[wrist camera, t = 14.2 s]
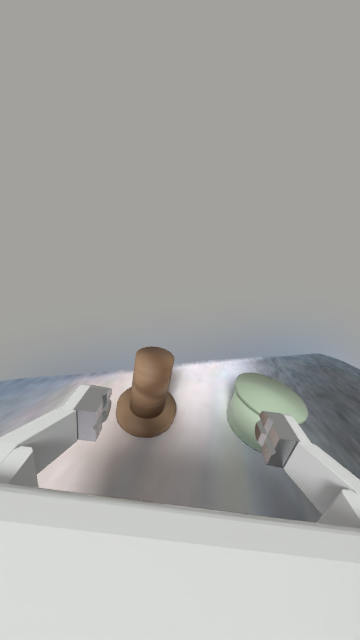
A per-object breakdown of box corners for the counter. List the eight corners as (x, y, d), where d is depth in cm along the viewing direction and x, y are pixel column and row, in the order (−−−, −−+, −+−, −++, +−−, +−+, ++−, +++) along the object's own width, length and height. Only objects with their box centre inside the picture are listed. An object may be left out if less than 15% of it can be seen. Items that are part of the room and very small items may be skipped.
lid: (161, 385, 32) (169, 339, 29) (184, 425, 25) (199, 370, 22) (111, 396, 27) (115, 343, 24) (123, 448, 21) (132, 383, 18)
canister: (251, 395, 34) (261, 369, 32) (303, 441, 26) (321, 410, 24) (212, 408, 29) (222, 378, 27) (263, 470, 21) (282, 433, 19)
